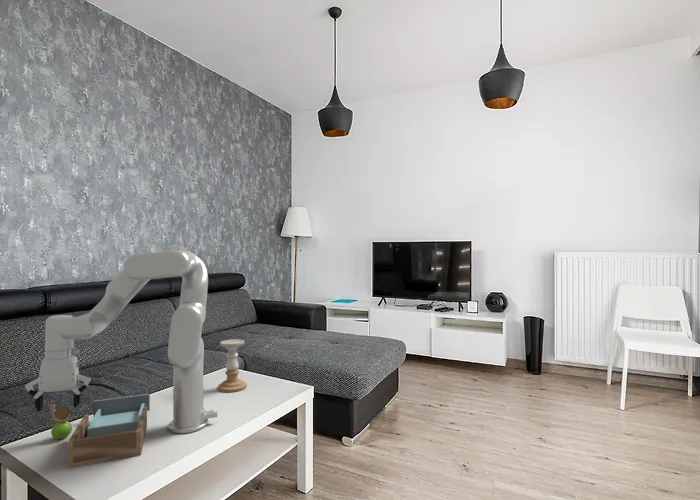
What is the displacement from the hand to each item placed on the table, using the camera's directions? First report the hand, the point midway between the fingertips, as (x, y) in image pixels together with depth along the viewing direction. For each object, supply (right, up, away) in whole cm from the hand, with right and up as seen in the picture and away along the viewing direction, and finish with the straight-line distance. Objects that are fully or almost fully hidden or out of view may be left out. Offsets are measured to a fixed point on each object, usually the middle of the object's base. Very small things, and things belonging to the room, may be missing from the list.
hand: (58, 407), depth 128 cm
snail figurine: (+1, -10, 0) cm, 10 cm away
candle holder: (+42, -10, +47) cm, 64 cm away
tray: (+15, -8, +8) cm, 19 cm away
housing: (+20, -10, -5) cm, 23 cm away
